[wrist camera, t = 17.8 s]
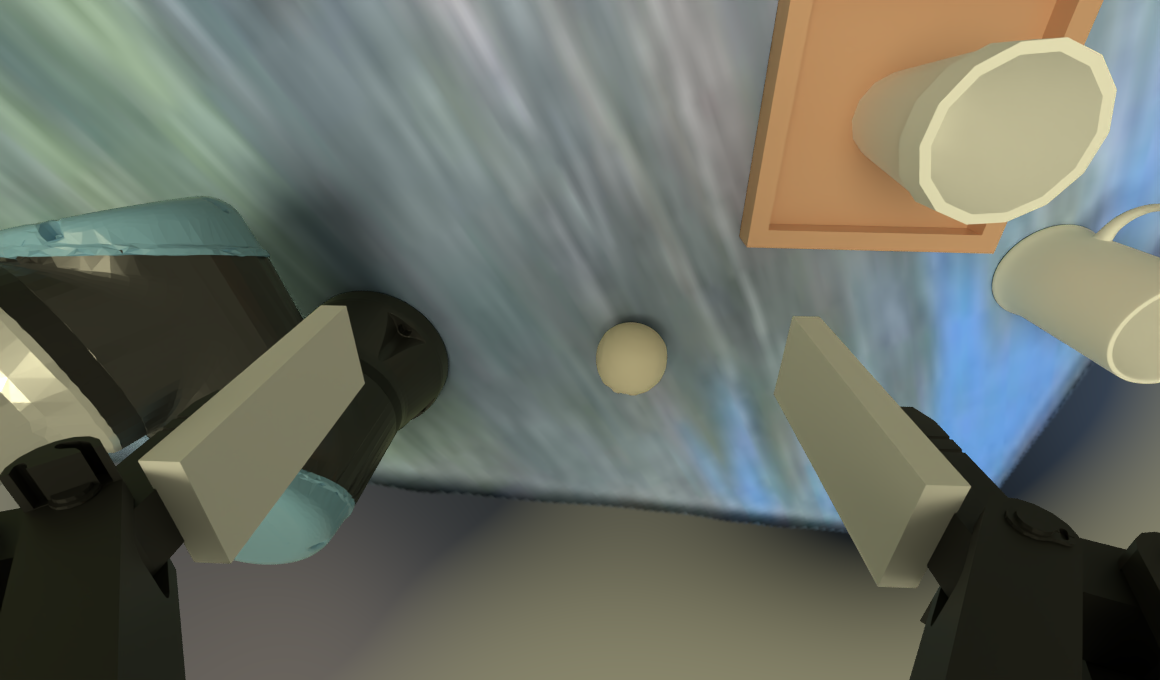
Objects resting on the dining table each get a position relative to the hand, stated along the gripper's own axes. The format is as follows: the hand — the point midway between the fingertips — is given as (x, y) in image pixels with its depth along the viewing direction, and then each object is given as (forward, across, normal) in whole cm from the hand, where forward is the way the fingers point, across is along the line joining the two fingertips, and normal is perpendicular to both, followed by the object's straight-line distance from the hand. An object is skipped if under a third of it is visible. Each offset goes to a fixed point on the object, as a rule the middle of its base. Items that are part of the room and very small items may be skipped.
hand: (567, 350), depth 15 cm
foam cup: (+30, -24, -4) cm, 38 cm away
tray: (+30, -24, -4) cm, 39 cm away
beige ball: (+32, -5, +17) cm, 36 cm away
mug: (+30, -41, +6) cm, 52 cm away
